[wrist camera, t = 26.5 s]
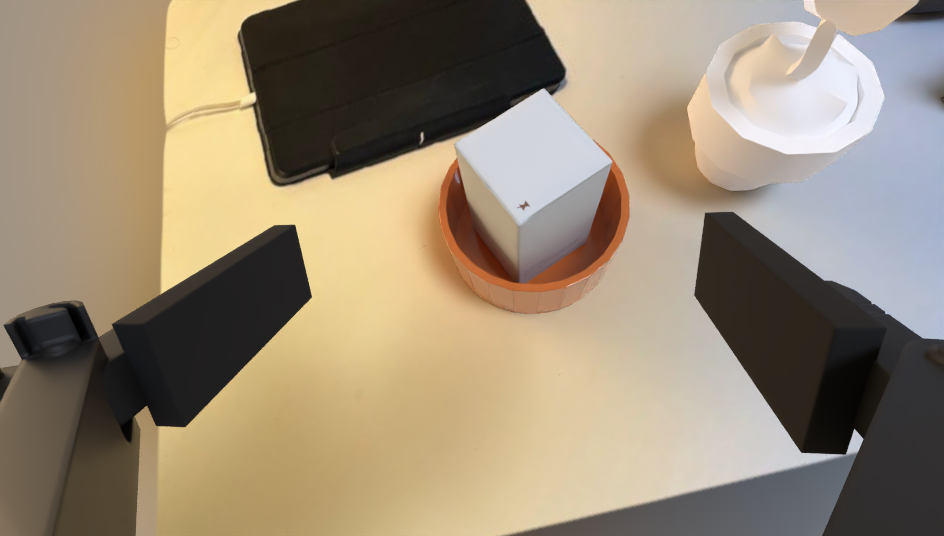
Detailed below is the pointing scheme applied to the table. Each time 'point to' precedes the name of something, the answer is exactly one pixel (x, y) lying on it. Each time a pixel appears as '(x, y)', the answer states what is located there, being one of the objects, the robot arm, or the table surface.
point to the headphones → (927, 6)
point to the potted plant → (789, 96)
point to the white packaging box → (532, 184)
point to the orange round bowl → (554, 283)
